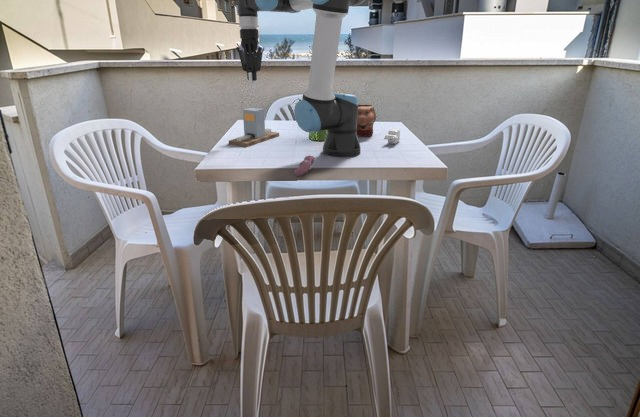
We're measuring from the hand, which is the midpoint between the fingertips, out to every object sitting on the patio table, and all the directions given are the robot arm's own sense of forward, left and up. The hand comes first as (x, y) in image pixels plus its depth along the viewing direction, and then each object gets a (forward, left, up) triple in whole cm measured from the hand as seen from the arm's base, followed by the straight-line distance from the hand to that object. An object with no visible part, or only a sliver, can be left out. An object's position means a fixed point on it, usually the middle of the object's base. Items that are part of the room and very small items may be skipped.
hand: (252, 88), depth 177 cm
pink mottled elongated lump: (-51, -14, -23) cm, 58 cm away
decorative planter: (+3, -51, -23) cm, 56 cm away
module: (0, 0, -21) cm, 21 cm away
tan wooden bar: (0, 0, -21) cm, 21 cm away
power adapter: (-18, -58, -23) cm, 65 cm away
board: (0, 0, -22) cm, 22 cm away
